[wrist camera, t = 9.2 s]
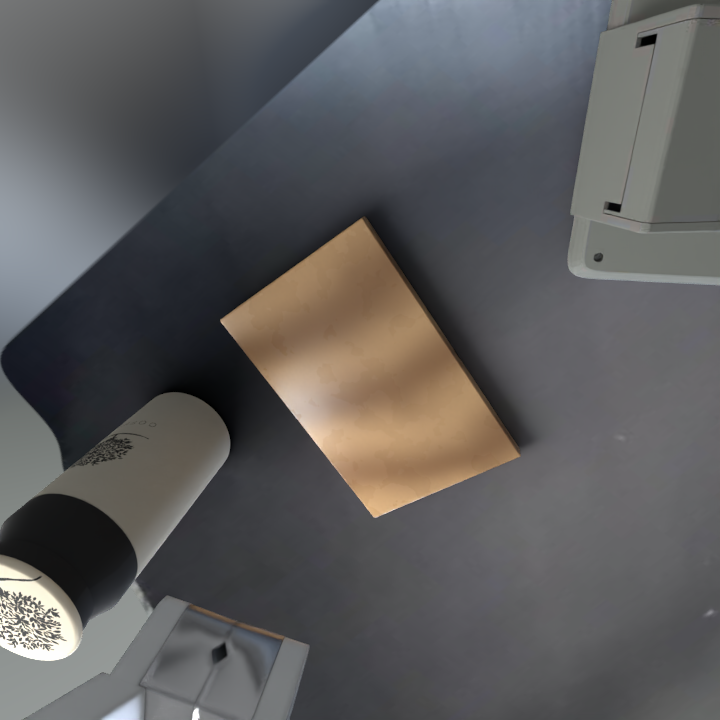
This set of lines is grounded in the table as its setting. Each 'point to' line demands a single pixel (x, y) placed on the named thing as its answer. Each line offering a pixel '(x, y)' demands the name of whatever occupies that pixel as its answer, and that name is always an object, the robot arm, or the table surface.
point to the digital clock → (652, 148)
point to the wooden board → (370, 373)
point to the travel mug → (103, 523)
